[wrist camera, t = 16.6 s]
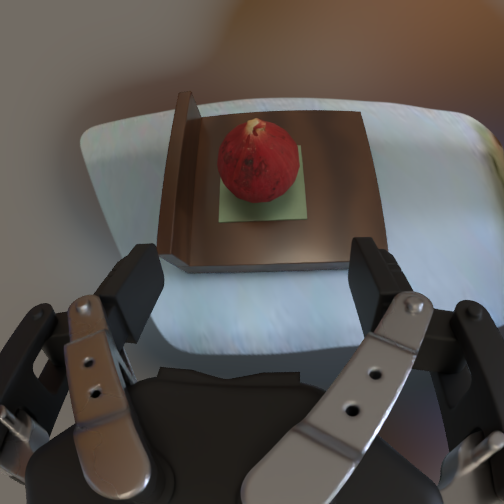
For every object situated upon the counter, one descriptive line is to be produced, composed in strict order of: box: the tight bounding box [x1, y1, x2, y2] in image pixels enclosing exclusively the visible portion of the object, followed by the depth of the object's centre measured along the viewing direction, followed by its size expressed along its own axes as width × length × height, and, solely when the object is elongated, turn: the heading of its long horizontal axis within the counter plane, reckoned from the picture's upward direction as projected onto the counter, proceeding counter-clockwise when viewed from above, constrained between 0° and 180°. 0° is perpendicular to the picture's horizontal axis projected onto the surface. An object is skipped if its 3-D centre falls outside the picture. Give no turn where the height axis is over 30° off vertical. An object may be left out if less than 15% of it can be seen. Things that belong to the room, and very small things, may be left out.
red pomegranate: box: [217, 118, 300, 203], centre depth 20 cm, size 6×6×8 cm
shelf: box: [156, 91, 388, 273], centre depth 23 cm, size 17×15×7 cm
